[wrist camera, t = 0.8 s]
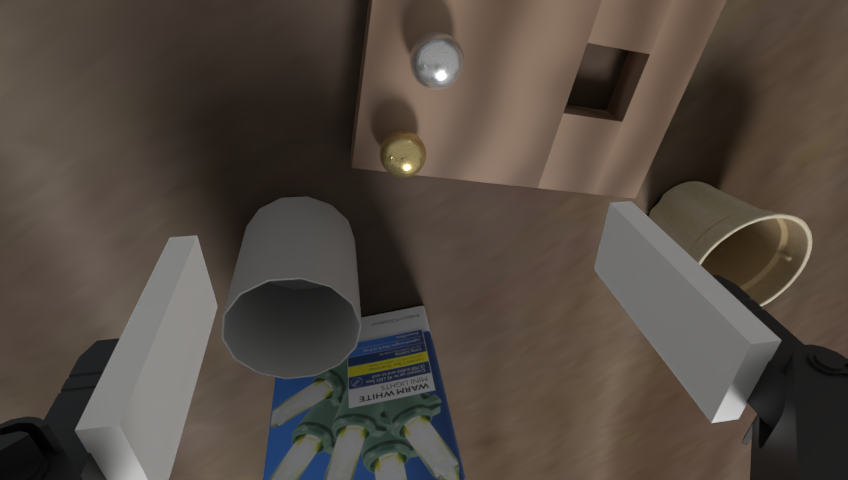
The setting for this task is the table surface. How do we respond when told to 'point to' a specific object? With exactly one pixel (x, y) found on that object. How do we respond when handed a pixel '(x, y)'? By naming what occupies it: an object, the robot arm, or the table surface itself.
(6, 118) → the table surface
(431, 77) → the steel ball
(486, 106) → the board
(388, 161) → the brass ball
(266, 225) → the cup
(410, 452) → the string lights box
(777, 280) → the flower pot
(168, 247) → the robot arm
